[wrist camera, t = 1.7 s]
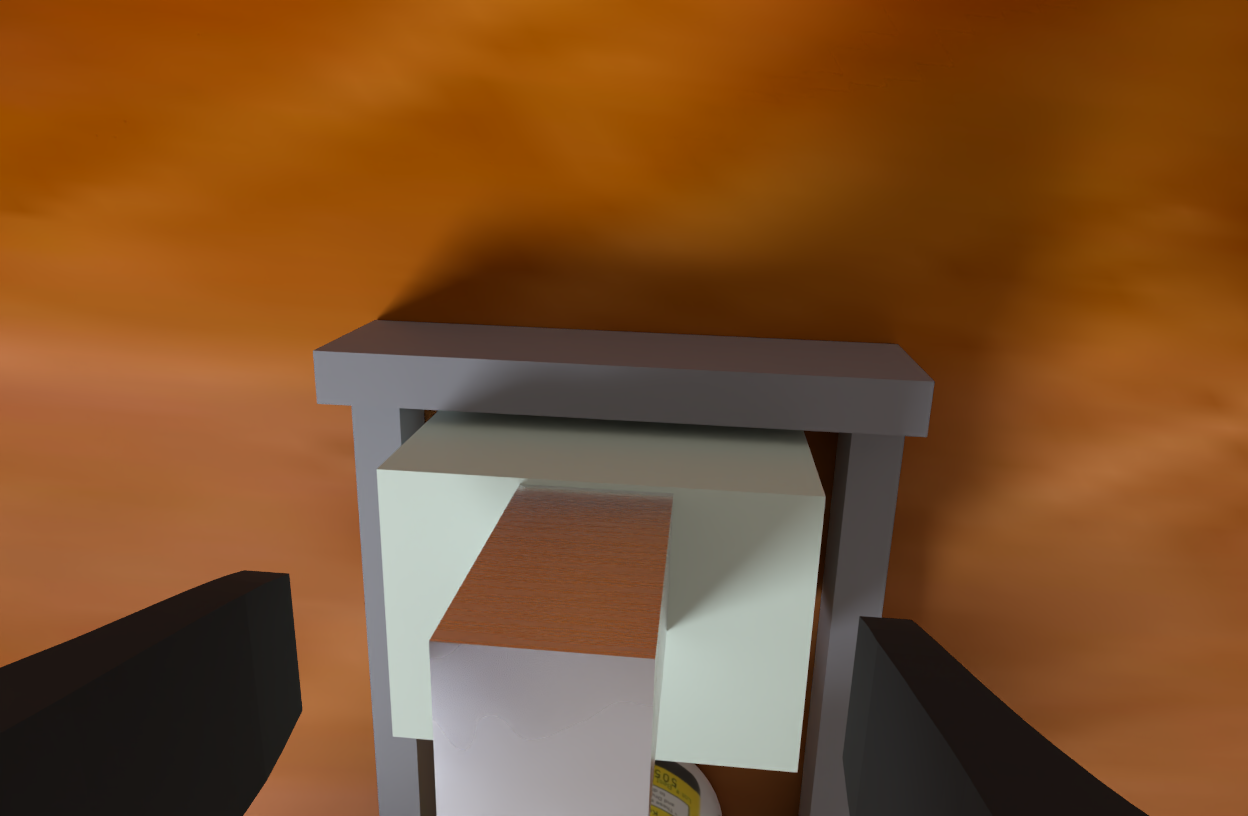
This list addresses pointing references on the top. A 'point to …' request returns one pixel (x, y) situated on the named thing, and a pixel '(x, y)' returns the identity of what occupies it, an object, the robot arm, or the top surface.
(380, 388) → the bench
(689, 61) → the top surface
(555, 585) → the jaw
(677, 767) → the supplement bottle
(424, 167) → the top surface
